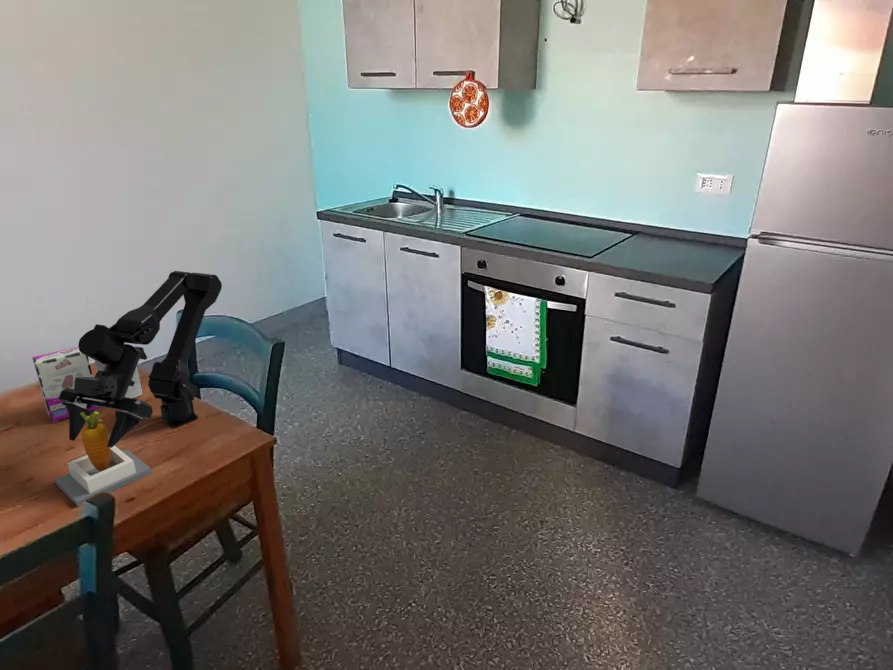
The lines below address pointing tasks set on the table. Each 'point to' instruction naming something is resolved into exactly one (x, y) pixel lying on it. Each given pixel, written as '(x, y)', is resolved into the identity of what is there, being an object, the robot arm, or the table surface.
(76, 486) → the socket
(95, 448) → the carrot
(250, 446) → the table surface
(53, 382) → the candy bar box
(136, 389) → the supplement box
